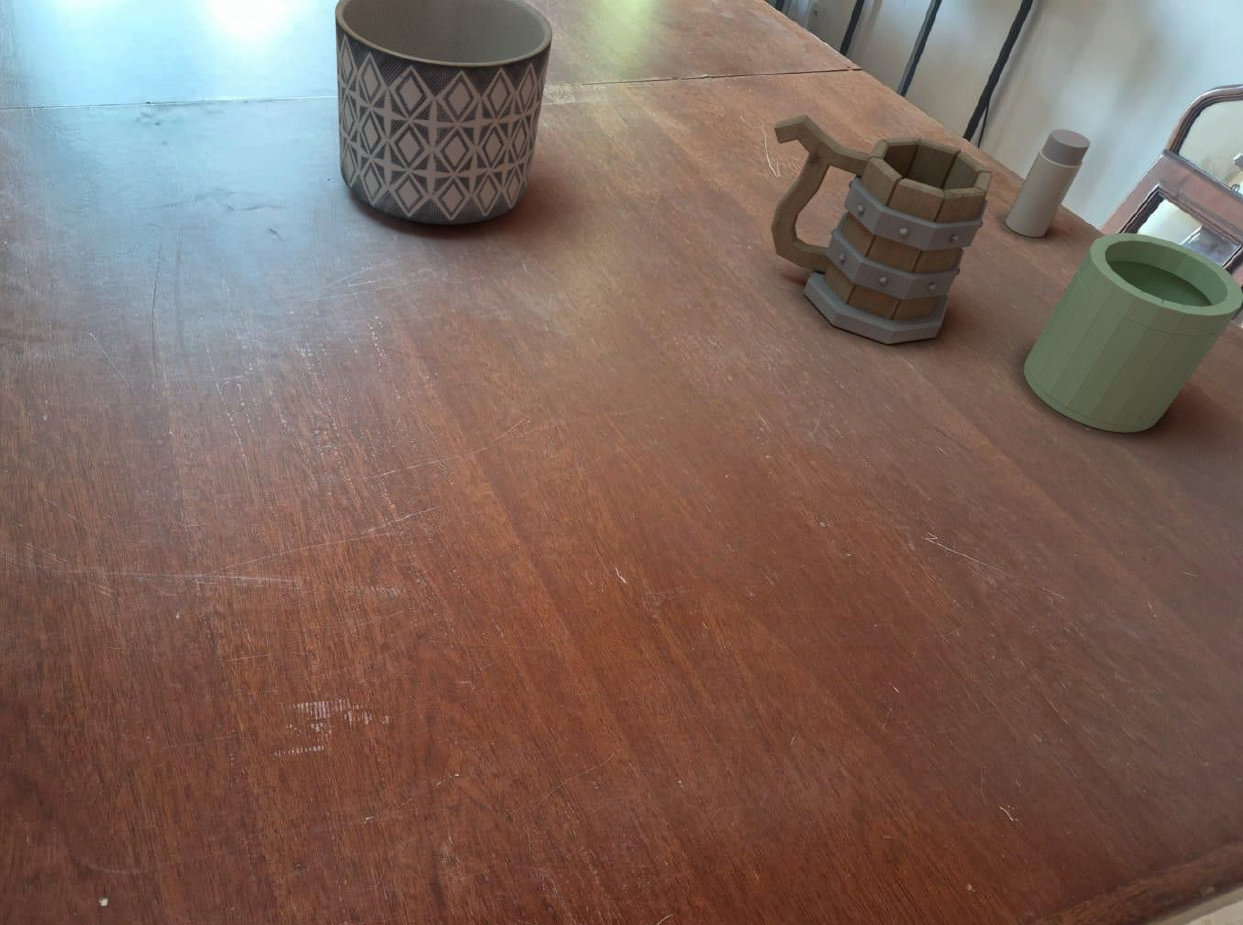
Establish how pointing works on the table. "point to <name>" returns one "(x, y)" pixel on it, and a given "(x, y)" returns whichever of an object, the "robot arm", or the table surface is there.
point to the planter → (439, 104)
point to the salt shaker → (1047, 183)
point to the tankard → (884, 230)
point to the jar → (1130, 331)
